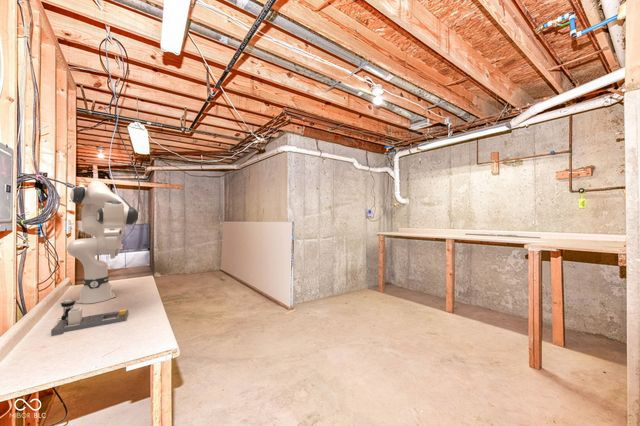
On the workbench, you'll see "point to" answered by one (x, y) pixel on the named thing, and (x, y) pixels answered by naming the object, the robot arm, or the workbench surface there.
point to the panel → (89, 322)
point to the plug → (75, 316)
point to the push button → (68, 305)
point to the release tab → (122, 312)
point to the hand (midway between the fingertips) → (114, 257)
